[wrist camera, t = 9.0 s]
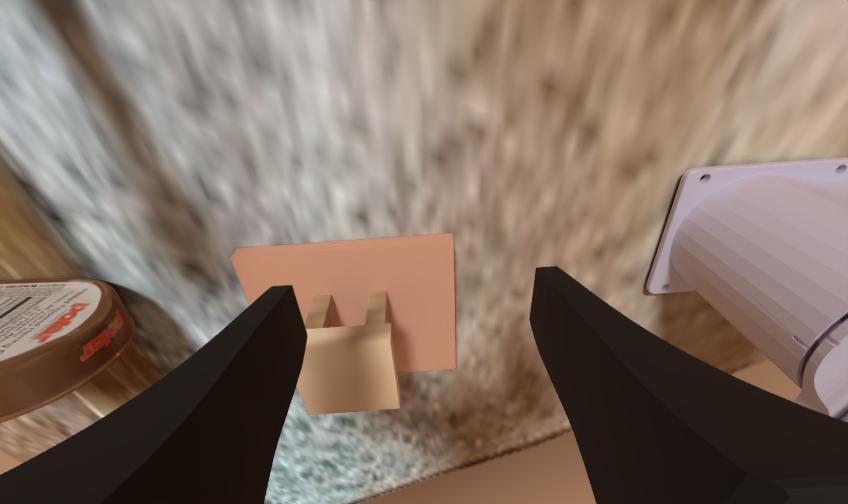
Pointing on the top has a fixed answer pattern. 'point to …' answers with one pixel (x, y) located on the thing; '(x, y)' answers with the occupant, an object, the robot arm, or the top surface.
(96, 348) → the tin
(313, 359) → the toy stool
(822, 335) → the robot arm
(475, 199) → the top surface
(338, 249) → the mat
